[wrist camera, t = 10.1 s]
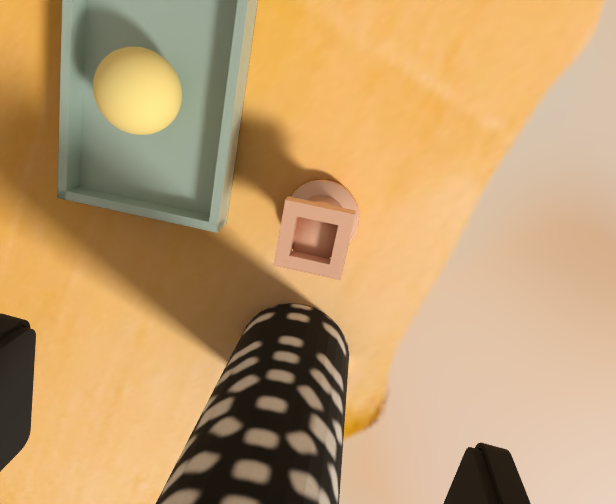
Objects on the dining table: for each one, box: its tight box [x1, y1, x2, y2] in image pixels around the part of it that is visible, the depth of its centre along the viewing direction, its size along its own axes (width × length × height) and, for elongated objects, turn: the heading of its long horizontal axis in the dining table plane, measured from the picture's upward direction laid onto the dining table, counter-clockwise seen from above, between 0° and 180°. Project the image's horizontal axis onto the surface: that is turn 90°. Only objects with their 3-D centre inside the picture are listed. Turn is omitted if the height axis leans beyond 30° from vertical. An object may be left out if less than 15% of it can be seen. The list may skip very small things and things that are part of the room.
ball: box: [93, 47, 182, 135], centre depth 30 cm, size 5×5×5 cm
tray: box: [58, 0, 258, 233], centre depth 32 cm, size 16×11×2 cm
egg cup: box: [274, 179, 359, 280], centre depth 31 cm, size 5×5×6 cm
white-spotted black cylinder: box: [156, 304, 349, 504], centre depth 28 cm, size 8×8×20 cm
